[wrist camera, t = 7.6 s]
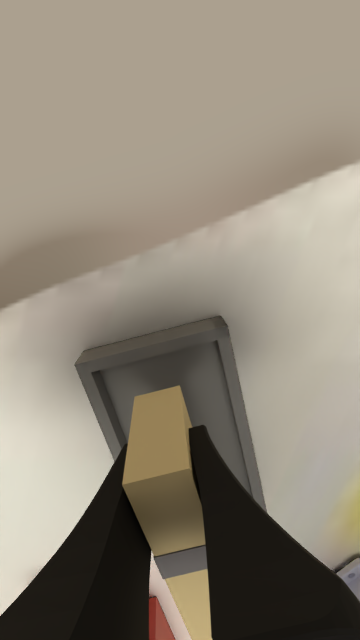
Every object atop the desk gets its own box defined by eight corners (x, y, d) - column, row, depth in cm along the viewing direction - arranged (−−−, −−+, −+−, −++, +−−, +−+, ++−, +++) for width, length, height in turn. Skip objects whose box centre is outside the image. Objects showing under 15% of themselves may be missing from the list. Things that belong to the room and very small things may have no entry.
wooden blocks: (134, 396, 12) (120, 486, 8) (180, 385, 12) (190, 469, 8) (187, 542, 15) (197, 655, 11) (224, 534, 15) (246, 643, 11)
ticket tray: (83, 350, 15) (74, 364, 13) (220, 315, 15) (227, 325, 13) (151, 522, 19) (150, 547, 17) (259, 495, 19) (268, 519, 17)
